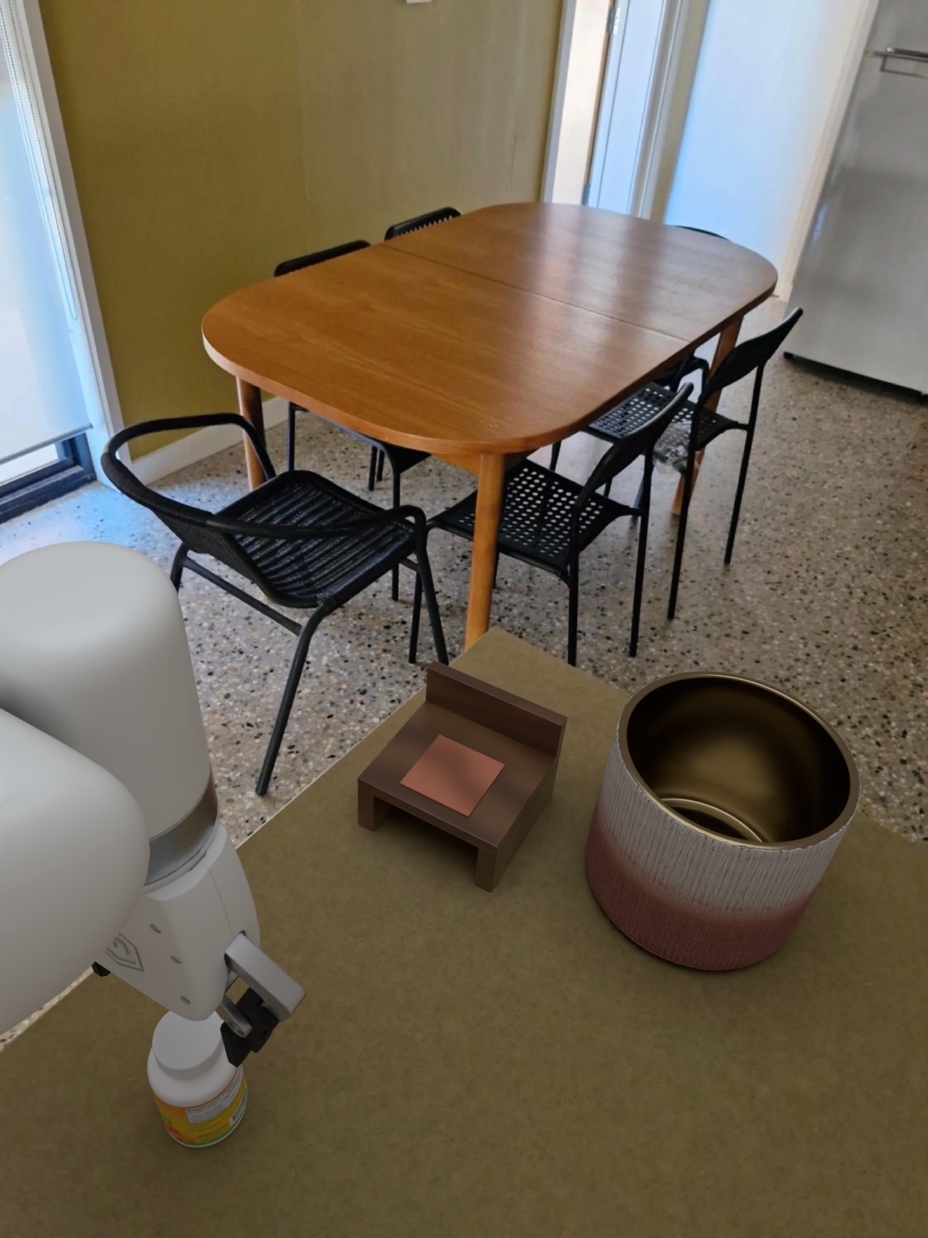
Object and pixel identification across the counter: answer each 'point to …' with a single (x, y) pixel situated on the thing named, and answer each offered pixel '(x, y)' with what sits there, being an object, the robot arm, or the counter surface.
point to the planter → (717, 817)
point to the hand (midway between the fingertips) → (183, 996)
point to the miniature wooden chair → (468, 767)
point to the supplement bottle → (195, 1080)
